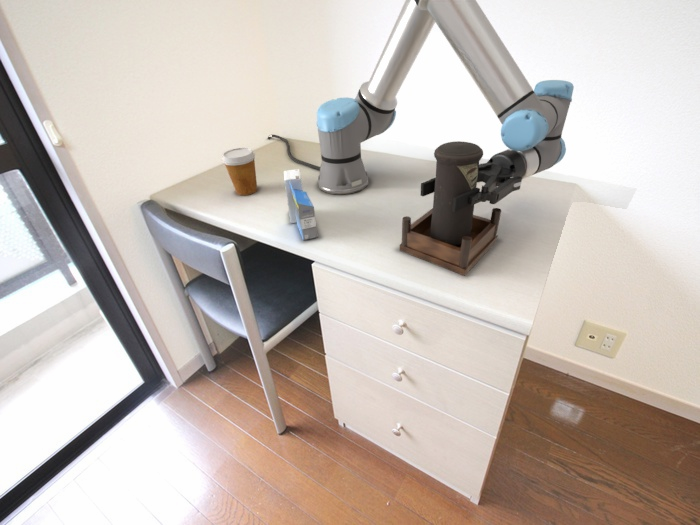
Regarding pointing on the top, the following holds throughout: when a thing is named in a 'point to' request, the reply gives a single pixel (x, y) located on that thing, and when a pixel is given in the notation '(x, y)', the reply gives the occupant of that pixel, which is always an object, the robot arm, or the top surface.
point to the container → (454, 190)
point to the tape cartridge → (304, 214)
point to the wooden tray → (444, 254)
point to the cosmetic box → (297, 185)
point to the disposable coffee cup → (241, 169)
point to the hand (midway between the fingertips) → (437, 197)
